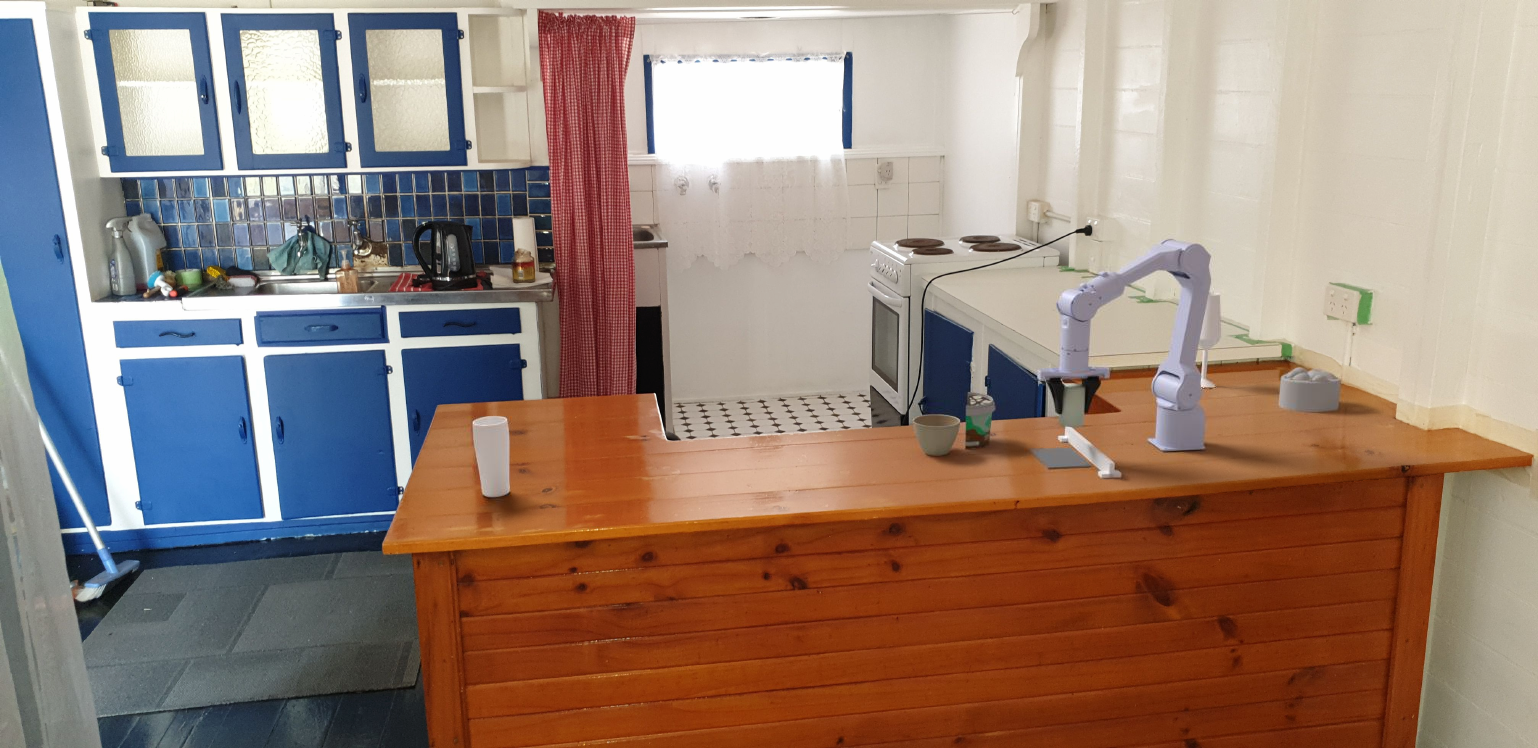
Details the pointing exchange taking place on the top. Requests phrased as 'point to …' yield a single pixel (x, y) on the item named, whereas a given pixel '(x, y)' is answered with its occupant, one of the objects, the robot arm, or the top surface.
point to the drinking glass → (492, 454)
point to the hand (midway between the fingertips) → (1071, 412)
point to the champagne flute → (1210, 332)
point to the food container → (978, 420)
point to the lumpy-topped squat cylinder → (1309, 391)
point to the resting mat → (1060, 458)
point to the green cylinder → (1073, 405)
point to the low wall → (1090, 453)
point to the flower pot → (936, 433)
